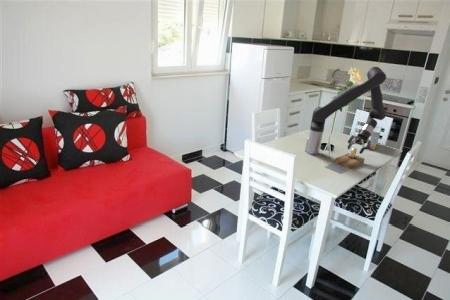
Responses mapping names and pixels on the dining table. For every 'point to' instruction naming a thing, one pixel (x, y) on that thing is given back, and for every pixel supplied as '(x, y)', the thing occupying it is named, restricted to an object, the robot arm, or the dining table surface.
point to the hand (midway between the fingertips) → (354, 150)
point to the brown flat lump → (349, 161)
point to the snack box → (375, 138)
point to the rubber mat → (336, 168)
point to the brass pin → (353, 153)
